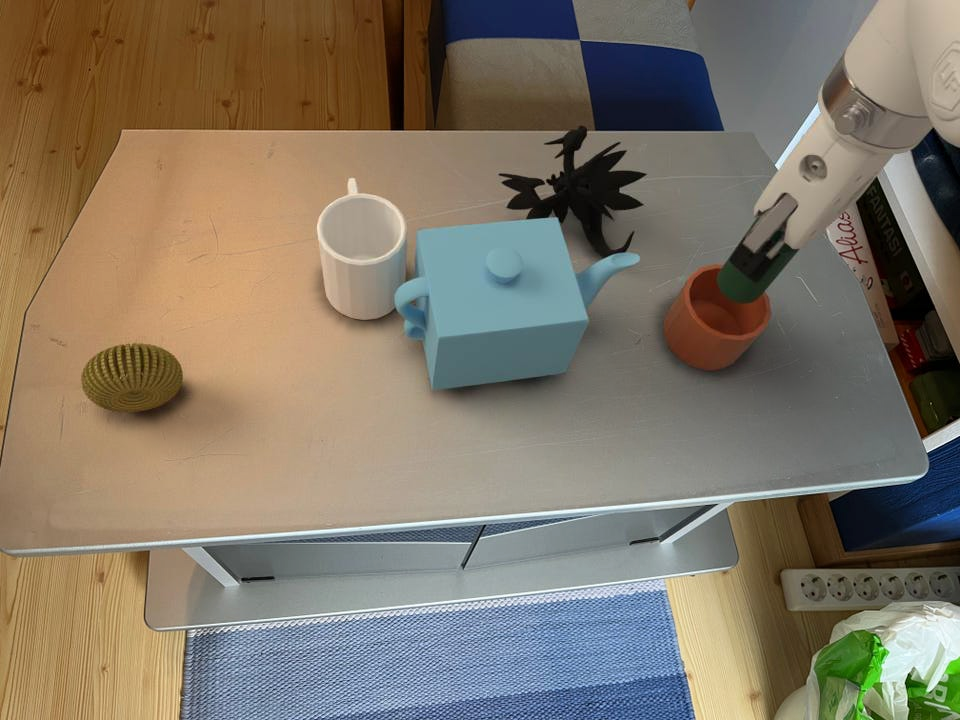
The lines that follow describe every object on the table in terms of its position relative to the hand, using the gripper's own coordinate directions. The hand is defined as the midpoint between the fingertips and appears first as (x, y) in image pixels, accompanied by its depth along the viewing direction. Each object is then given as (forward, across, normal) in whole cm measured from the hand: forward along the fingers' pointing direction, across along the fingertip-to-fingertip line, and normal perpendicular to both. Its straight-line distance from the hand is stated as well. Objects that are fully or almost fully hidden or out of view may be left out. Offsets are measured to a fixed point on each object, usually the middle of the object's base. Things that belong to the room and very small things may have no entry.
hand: (762, 254), depth 66 cm
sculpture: (+14, -47, +29) cm, 57 cm away
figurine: (+14, -3, +19) cm, 24 cm away
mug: (+14, -23, +28) cm, 39 cm away
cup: (+14, 0, 0) cm, 14 cm away
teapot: (+14, -17, +13) cm, 26 cm away
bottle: (+5, 0, 0) cm, 5 cm away
